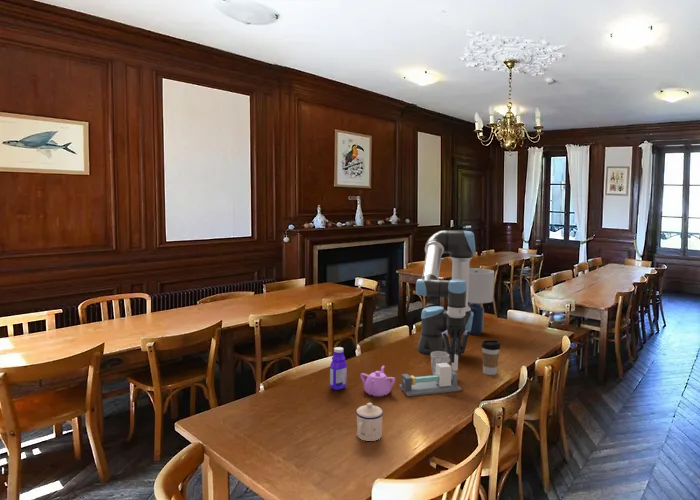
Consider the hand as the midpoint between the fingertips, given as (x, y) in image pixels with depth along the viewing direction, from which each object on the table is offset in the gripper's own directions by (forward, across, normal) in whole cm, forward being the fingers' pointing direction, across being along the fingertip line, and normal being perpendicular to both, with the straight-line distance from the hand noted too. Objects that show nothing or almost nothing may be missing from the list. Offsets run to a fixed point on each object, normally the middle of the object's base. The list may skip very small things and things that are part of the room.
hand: (454, 369), depth 206 cm
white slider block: (+6, -5, 0) cm, 8 cm away
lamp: (+8, +50, +73) cm, 89 cm away
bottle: (+8, -49, +10) cm, 51 cm away
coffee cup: (+8, +24, +11) cm, 27 cm away
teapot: (+8, -34, +2) cm, 35 cm away
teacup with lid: (+8, -49, -34) cm, 60 cm away
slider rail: (+8, -11, 0) cm, 14 cm away
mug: (+8, +1, +13) cm, 15 cm away
